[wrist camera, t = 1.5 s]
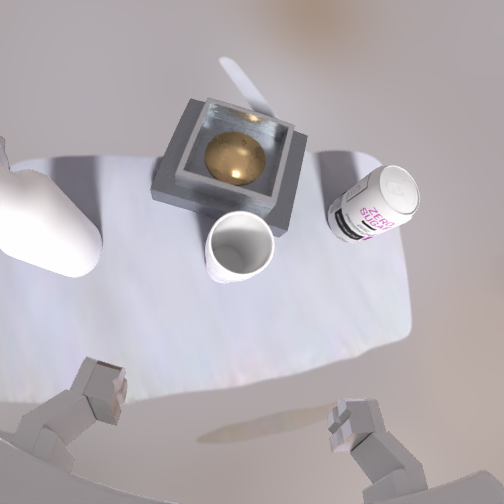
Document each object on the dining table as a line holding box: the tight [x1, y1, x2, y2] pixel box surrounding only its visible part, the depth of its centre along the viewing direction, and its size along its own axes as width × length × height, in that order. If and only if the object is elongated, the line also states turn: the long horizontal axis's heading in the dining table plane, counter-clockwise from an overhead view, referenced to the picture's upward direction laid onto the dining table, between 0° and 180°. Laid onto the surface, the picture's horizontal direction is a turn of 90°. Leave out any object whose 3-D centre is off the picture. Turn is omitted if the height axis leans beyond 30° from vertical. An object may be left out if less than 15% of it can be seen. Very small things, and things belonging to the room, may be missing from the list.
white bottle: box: [0, 163, 102, 277], centre depth 26 cm, size 9×9×30 cm
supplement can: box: [328, 165, 420, 244], centre depth 43 cm, size 8×8×15 cm
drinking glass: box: [205, 211, 274, 283], centre depth 37 cm, size 7×7×15 cm
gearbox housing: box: [150, 98, 307, 237], centre depth 44 cm, size 20×17×8 cm
